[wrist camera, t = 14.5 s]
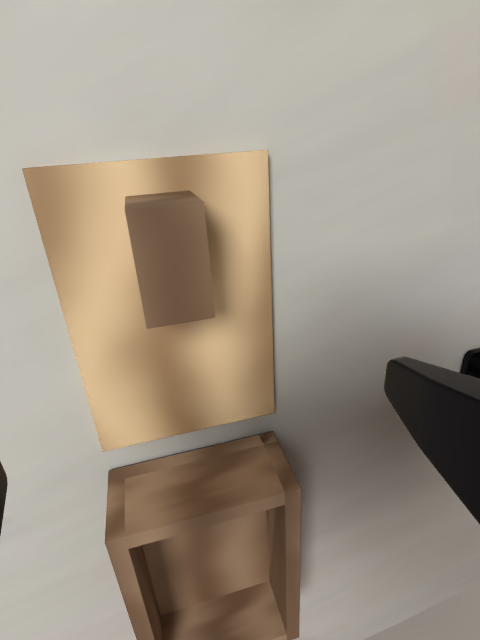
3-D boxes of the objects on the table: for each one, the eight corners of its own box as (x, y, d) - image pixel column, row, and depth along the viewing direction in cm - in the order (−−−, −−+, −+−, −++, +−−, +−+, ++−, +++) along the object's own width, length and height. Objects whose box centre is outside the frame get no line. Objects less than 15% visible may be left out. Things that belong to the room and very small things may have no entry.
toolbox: (272, 431, 27) (308, 502, 21) (277, 592, 35) (304, 672, 30) (108, 470, 24) (104, 560, 19) (155, 633, 33) (160, 727, 27)
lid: (261, 149, 19) (300, 152, 15) (269, 403, 26) (297, 456, 22) (27, 167, 17) (-7, 176, 13) (103, 440, 24) (98, 506, 20)
